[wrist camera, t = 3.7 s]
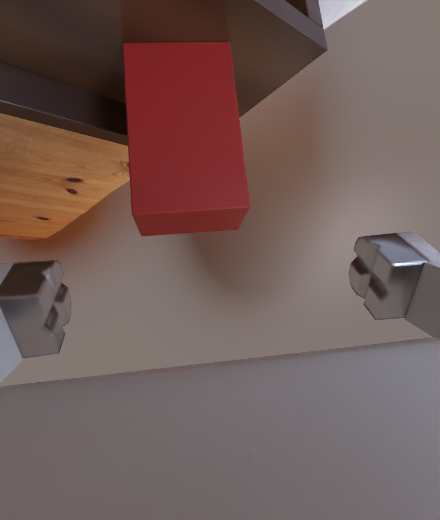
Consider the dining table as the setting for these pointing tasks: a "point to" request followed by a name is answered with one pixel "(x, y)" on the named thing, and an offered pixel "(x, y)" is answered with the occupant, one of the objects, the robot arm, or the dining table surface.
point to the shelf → (136, 31)
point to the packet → (184, 138)
